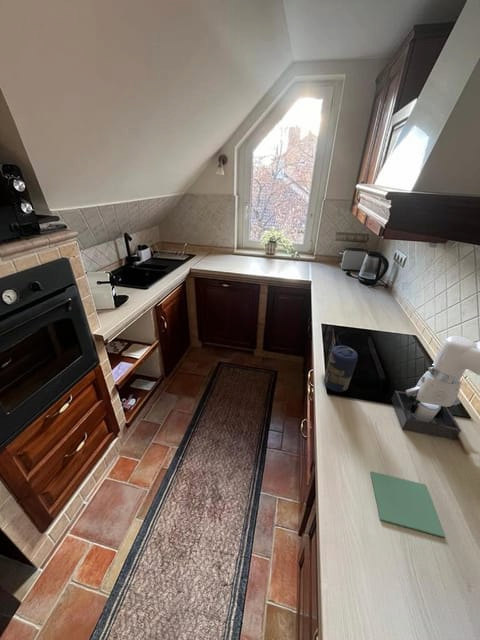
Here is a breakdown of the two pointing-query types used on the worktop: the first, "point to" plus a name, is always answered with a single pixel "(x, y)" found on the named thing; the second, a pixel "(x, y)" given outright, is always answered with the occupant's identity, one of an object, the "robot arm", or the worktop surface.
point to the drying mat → (405, 504)
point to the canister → (340, 368)
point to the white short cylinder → (426, 411)
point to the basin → (436, 427)
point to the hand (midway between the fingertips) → (423, 412)
